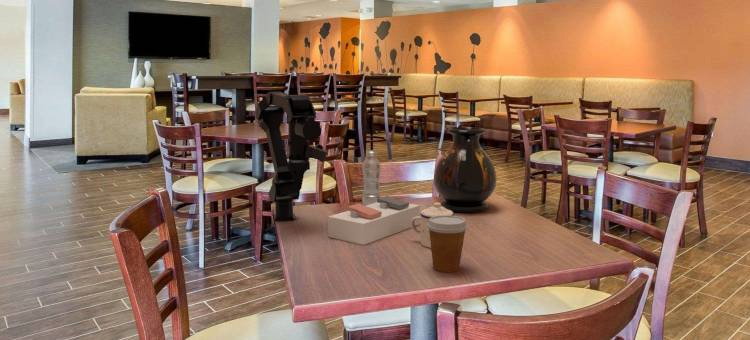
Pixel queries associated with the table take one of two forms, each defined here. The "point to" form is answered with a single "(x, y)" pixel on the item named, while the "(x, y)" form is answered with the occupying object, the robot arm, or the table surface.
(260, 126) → the robot arm
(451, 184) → the amphora vase
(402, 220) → the block
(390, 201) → the charcoal rocker
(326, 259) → the table surface
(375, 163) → the plastic bottle
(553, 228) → the table surface
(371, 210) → the red rocker
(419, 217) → the teacup with lid
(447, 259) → the disposable coffee cup
